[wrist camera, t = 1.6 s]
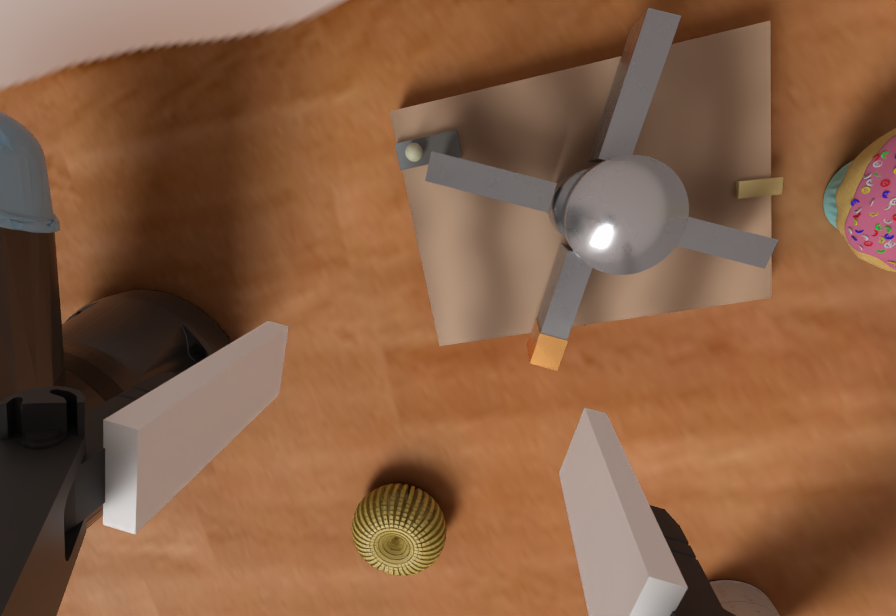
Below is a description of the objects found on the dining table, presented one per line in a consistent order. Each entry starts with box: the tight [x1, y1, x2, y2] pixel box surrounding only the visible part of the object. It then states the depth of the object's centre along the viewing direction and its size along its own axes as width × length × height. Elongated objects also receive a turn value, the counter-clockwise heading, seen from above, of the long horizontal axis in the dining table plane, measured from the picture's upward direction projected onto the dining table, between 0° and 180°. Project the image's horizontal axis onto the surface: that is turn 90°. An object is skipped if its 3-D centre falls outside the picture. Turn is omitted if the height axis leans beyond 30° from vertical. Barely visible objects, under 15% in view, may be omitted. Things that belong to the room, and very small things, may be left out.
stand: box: [390, 21, 783, 346], centre depth 28 cm, size 22×16×4 cm
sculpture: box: [352, 483, 446, 576], centre depth 37 cm, size 8×4×8 cm
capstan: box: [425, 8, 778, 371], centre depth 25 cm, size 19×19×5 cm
